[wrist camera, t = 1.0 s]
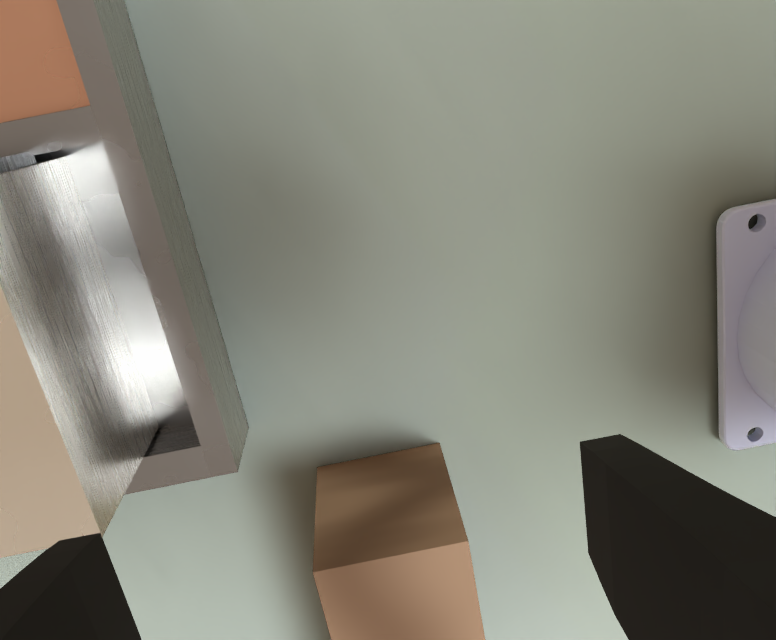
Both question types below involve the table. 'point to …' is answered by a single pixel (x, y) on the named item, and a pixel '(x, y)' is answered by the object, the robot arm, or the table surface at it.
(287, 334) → the table surface
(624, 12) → the table surface
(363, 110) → the table surface
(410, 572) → the block
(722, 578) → the robot arm
